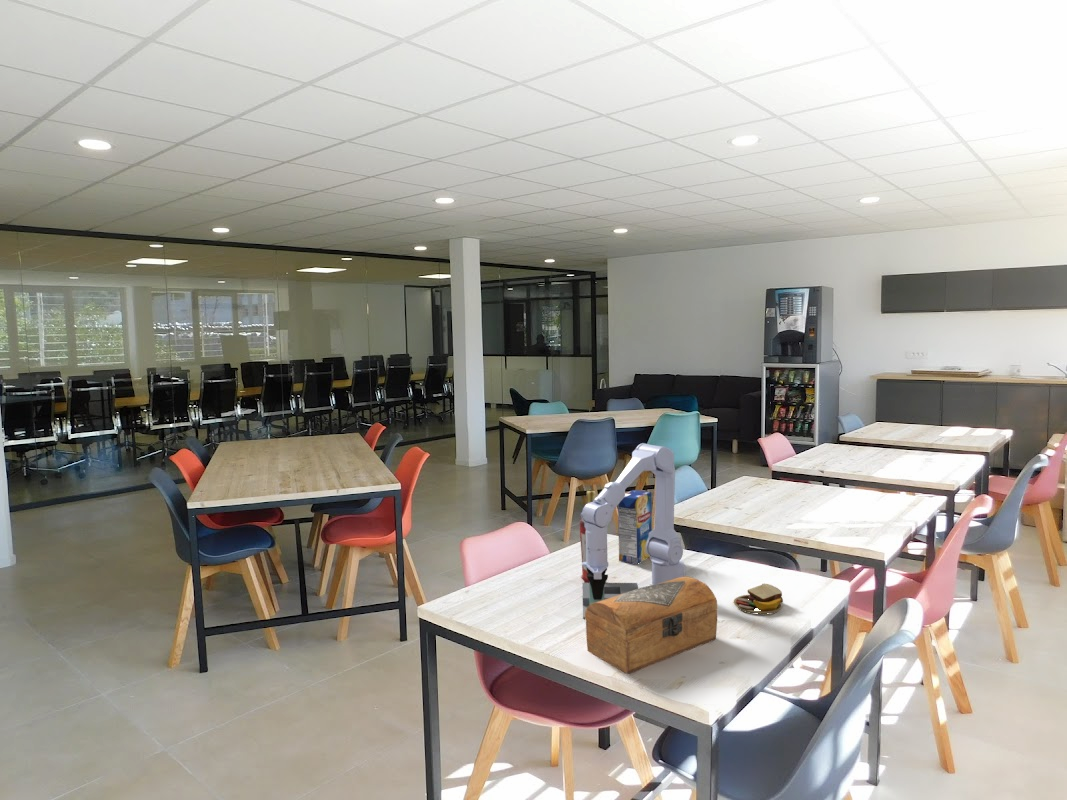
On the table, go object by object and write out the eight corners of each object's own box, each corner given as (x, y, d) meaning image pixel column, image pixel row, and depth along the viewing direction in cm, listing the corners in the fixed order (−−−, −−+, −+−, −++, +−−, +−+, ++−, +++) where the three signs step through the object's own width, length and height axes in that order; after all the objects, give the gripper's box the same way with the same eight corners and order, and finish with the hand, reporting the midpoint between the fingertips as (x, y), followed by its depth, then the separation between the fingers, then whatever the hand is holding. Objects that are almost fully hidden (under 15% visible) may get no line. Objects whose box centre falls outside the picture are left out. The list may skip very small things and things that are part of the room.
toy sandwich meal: (725, 601, 193) (725, 585, 193) (767, 596, 197) (768, 580, 196) (749, 619, 181) (749, 601, 181) (794, 613, 184) (794, 596, 184)
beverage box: (618, 561, 229) (618, 496, 227) (633, 552, 238) (633, 489, 236) (637, 564, 225) (636, 498, 223) (652, 555, 234) (651, 492, 232)
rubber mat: (611, 606, 191) (611, 605, 191) (613, 618, 183) (613, 617, 183) (582, 606, 191) (582, 605, 191) (583, 618, 183) (582, 617, 183)
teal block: (604, 605, 189) (603, 577, 188) (604, 611, 185) (604, 582, 184) (589, 605, 189) (589, 577, 188) (589, 611, 185) (589, 582, 184)
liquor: (604, 577, 214) (603, 489, 212) (604, 585, 207) (603, 494, 204) (580, 577, 215) (579, 489, 212) (579, 585, 208) (578, 494, 205)
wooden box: (629, 677, 152) (628, 616, 151) (584, 650, 166) (583, 594, 164) (722, 642, 168) (723, 587, 167) (674, 619, 182) (674, 568, 181)
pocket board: (637, 591, 202) (637, 582, 202) (640, 607, 190) (640, 598, 190) (582, 590, 203) (582, 582, 203) (582, 606, 191) (582, 598, 191)
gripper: (581, 539, 193) (582, 586, 194) (581, 555, 178) (582, 606, 180) (606, 539, 192) (607, 586, 194) (609, 555, 178) (609, 606, 179)
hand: (597, 595), depth 187 cm, fingers closed on teal block, 4 cm apart
